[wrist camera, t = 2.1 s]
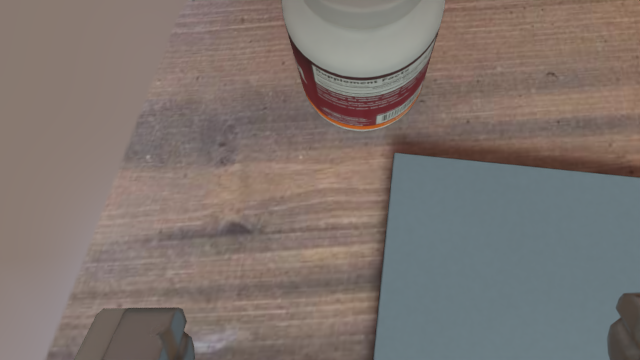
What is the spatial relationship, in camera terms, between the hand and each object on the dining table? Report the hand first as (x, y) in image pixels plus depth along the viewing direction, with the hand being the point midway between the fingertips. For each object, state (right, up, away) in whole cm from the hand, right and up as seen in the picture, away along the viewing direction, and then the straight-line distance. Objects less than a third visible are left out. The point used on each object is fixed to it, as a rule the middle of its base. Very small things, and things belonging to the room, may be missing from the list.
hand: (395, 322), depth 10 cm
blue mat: (+8, -3, +15) cm, 17 cm away
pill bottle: (+1, +8, +18) cm, 20 cm away
